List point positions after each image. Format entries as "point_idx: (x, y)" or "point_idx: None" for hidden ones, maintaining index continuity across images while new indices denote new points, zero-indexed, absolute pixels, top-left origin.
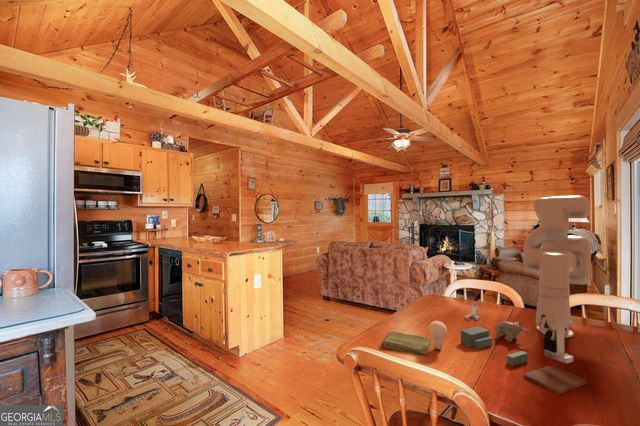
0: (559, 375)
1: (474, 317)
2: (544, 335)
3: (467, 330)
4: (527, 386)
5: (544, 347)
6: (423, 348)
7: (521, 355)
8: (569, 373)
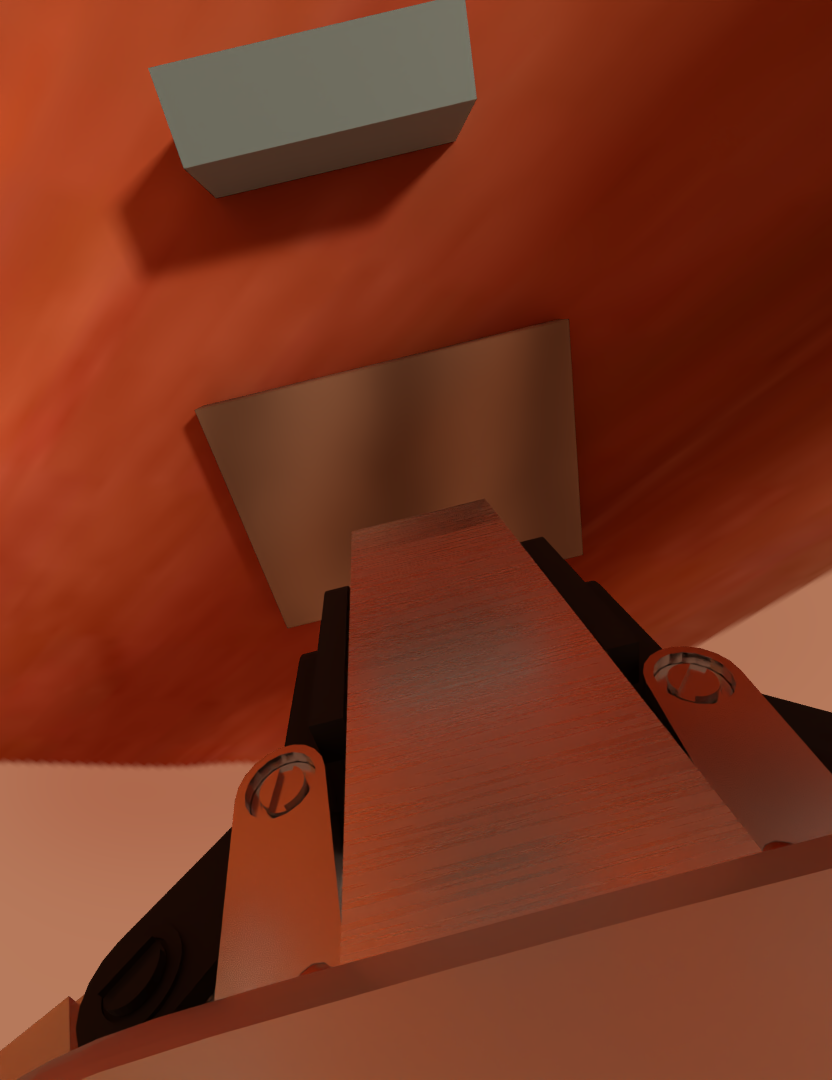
0: (469, 478)
1: None
2: (197, 892)
3: None
4: (147, 518)
5: (325, 603)
6: None
7: (358, 128)
8: (568, 465)
